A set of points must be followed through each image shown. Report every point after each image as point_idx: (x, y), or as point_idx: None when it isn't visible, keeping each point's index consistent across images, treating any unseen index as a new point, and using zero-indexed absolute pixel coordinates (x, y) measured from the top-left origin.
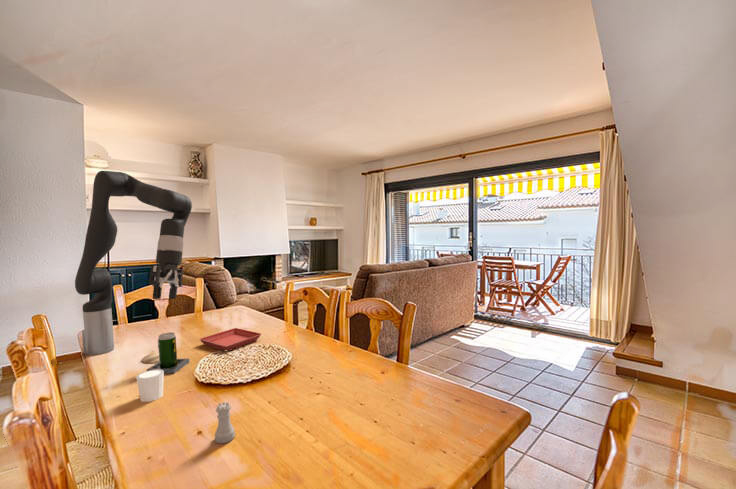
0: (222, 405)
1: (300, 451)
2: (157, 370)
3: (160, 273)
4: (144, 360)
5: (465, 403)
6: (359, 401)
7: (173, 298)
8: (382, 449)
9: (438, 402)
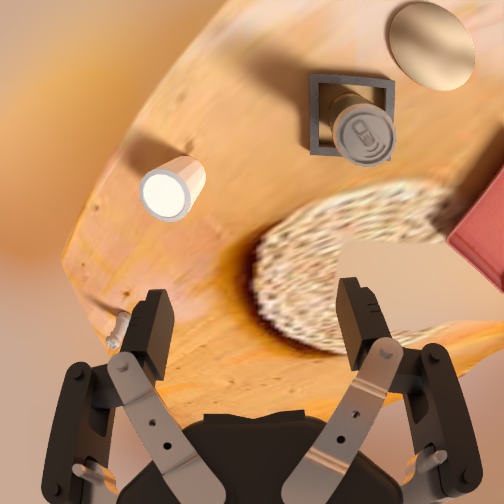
0: (111, 343)
1: None
2: (184, 200)
3: (158, 472)
4: (400, 16)
5: None
6: (219, 402)
7: (336, 302)
8: None
9: None
